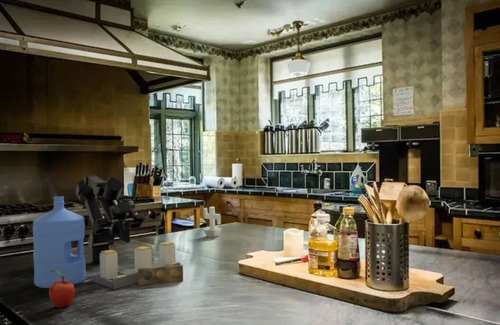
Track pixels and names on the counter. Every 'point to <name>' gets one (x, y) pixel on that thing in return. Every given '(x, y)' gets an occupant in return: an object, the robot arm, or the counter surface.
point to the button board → (124, 278)
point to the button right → (166, 253)
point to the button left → (108, 264)
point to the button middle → (143, 257)
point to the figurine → (212, 222)
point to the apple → (61, 292)
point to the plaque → (160, 274)
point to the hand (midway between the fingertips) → (128, 242)
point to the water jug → (58, 246)
